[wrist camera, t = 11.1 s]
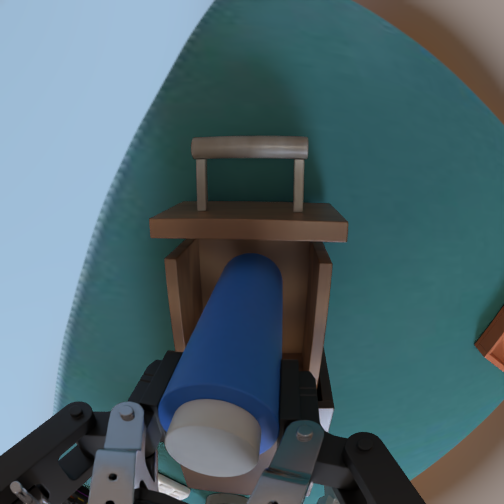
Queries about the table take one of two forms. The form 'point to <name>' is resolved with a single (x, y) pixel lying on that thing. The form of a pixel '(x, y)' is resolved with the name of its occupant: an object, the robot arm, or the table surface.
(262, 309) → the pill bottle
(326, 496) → the lighter
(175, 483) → the calculator
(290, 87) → the table surface
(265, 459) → the cabinet
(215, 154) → the drawer
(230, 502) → the thermos bottle
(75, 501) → the keyboard
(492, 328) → the tray
